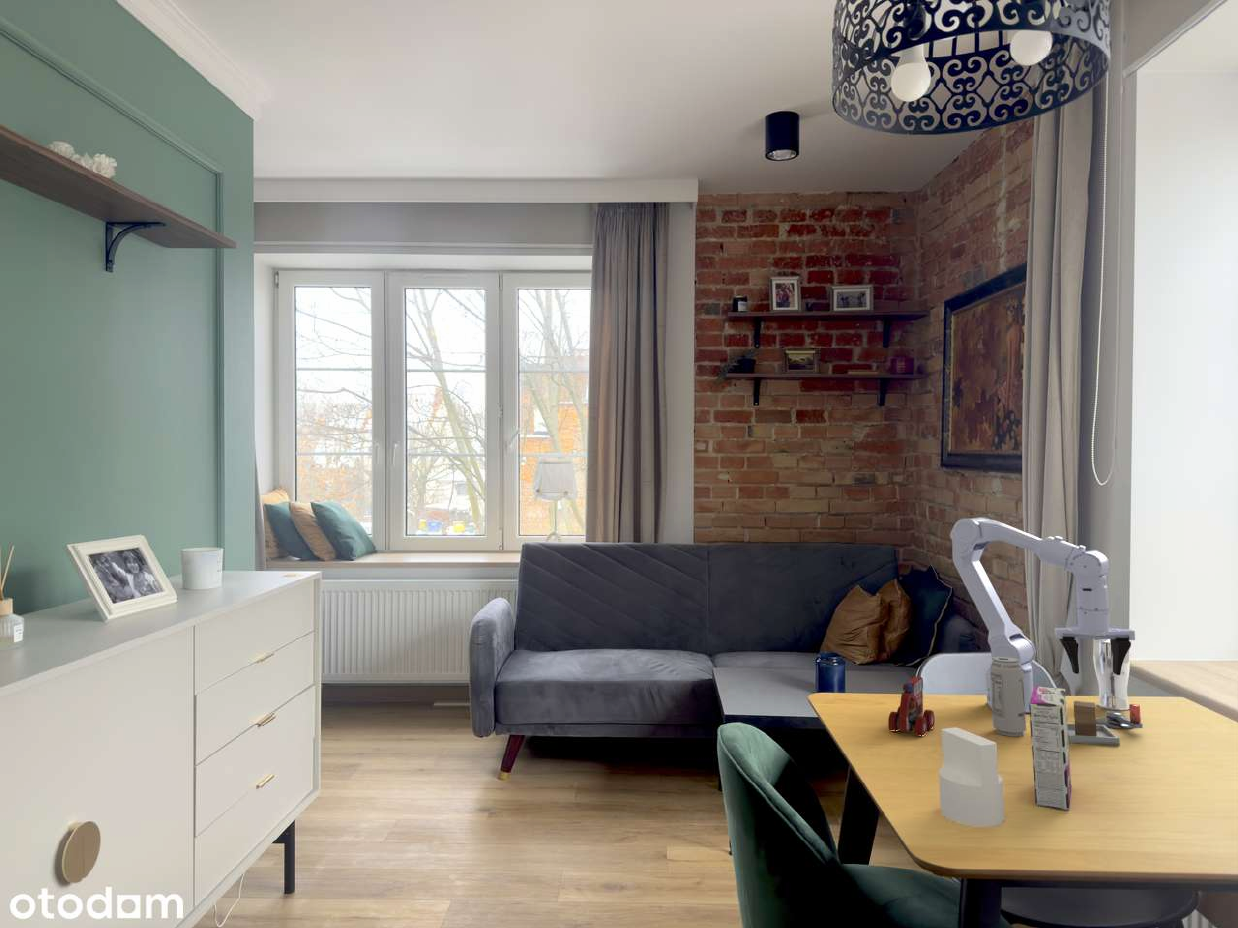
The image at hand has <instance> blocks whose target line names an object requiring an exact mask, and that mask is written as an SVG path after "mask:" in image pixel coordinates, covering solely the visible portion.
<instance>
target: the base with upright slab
mask: <svg viewBox="0 0 1238 928" xmlns="http://www.w3.org/2000/svg"><path fill="white" fill-rule="evenodd" d="M941 743H942V744H941V745H942V762H943V763H942V765H943V767H941V768H940V769H939V771H938V777H939V778H938V779H939V782H938V783H939V799H940V800H939V801H940V803H939V804H940V813H941V812H942V813H941V815H942V814H943V815H944V816H945V817H944V816H943V815H942V816H943V817H944V818H946V819H947V820H949V821H951V822H953V823H955V824H959V825H962V826H963V825H964V826H969V827H973V826H976V828H992V827H997V826H1000V825H1002V824H1003V823H1004V822H1005V820H1006V819H1005V800H1004V781H1003V776H1001V774H999V767H998V766H999V764H998V761H999V760H998V743H997V742H995V741H993V740H989V739H988V738H985V737H982V736H980V735H977V734H975V733H973V732H969V731H967V730H964V729H962V728H960V727H947V728H941Z"/></svg>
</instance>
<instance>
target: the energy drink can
mask: <svg viewBox="0 0 1238 928" xmlns="http://www.w3.org/2000/svg"><path fill="white" fill-rule="evenodd" d="M989 666H990V670H991V690H992V709H991V711H992V726H993V729H995V732H996V733H997V734H999V735H1000V736H1001V735H1002V736H1007V737H1023V735H1024V732H1026V731H1027V723H1026V722H1027V721H1026V719H1027V717H1026V713H1025V698H1024V678H1023V667H1022V666H1021V664H1020V662H1019V659H1018V658H1014V657H1006V656H999V657H994V658H993V659H992V662H991V664H990V665H989Z"/></svg>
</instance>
